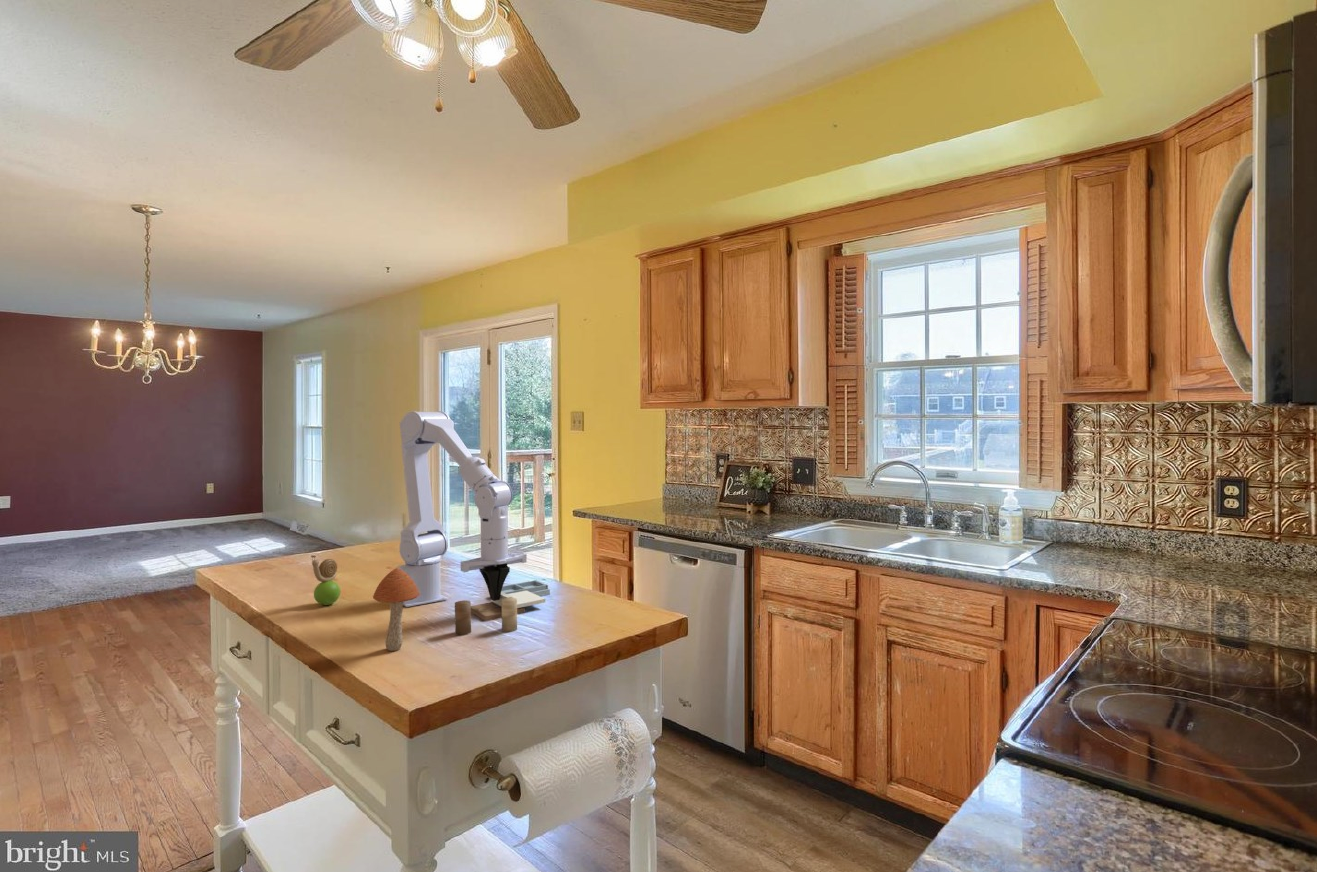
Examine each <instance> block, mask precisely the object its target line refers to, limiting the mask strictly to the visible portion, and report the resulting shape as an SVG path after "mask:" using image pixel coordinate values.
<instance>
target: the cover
mask: <svg viewBox="0 0 1317 872" xmlns="http://www.w3.org/2000/svg"><path fill="white" fill-rule="evenodd" d="M505 598H516V599H517V608H521V607H523V608H526V607H530V606H534V605H539V604H540V605H541V604H544V603H546V598H544V597H543V596H538V595H536V594H533V593H531V592H529V591H527V590H526V591H521V592H516V593H510V594H506V593H504V592H502V591H501V594H500V599H499V600H496V601H493V600H491V599H490V598H489V600H490V602H494V603H496V604H497V605H499V606H501V607H502V599H505Z"/></svg>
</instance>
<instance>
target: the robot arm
mask: <svg viewBox="0 0 1317 872" xmlns="http://www.w3.org/2000/svg"><path fill="white" fill-rule="evenodd" d="M399 429H400V438H401V455H402V457H401V458H402V464H403V466H402V467H403V473H404V482H405V491H406V492H405V493H406V500H407V509H408V520H409V522H408V523H407V525H406V526H405V527H404V528H403V529H402V530H401V531H400V543H399V554H400V556H401V557H400V558H401V559H402V560H403V561H404V564H402V565H401V564H400V565H399V566H398V567H397V568H398V569H400V570H402V571H404V572H405V573H407V574H408V575H409V576H410V577H411V579H412V580H413V581H414V583H415V584H416V586H417V589H418V591H419V596H418V597H417V598H415V599H413V600H409V601H404V602H403V607H405V608H409V607H414V606H420V605H425V604H432V603H435V602H442V601H446V600H448V597H447V596H445V595H443V594H442V587H441V586H442V582H441V581H442V580H441V579H442V577H441V571H442V570H441V568H442V567H441V566H442V565H441V564H442V563H441V561H442V560H444V555H445V554H446V553H447V551H448V548H449V542H448V538H447V536H446V534H445V531H444V525H443V524H442V523H440V521H438V520H436V518H435V513H434V505H433V496H432V495H433V494H432V486H431V478H430V470H429V469H430V468H429V460H428V453H429V451H430V450H431V448H432V447H434V446H435V445H437V444H439V445H440V446H441V447H442V449H444V450H445V451H446V453H447V454H448V455H449V456H450V457H451V458H452V459H453V460H454V461H455V463H456V464H458V466H459V468H458V474H459V475H460V477H461V478H462V479H463V481H464V482H465V483H466V485H467V486H468V487H469V488H470V489H471V490H470V491H472V492H473V494H475V496H473V501H474V504H475V506H476V507H477V510H478V513H477V514H478V516H479V518H480V556H479V557H475V558H472V559H469V560H468V559H467V560H462V561H460V571H461V572H463V573H469V571H476V570H479V573H481V576H482V578H483V580H484V581H485V585H486V587H487V590H488V594H489V600H490V599H491V600H493V601H496V600H499V599H500V594H501V590H502V587H503V586H504V584H505V581H506V579H507V577H508V575H509V574H510V569H511V568H510V566H508V565H514V564H520V563H522V564H525V563H528V559H527V558H528V557H527V553H524V552H518V553H517V552H516V553H509V547H508V546H509V544H508V541H509V540H508V537H509V536H508V531H509V530H508V522H509V521H508V519H509V518H508V506H510V504H512V502H513V499H514V498H513V497H514V493H513V489H512V487H511V485H510V483H508V482H507V481H505V480H500V478H498V477H497V476H496V475H495V474H494V473H493V472H492V470H491V469H490V468H489V466H487V464H486V463H487V462H486V460H485V459H484V458H481V457H480V456H473V455H472V454H471V452H470V451H469V449H468V447H467V446H466V445H465V444H464V442H463V440H462V439H461V438H460V435H459V434H458V433H457V431H456V430H455V422H454V421H453V420H452V419H451V418H450V416H449V414H447V412H445V411H441V410H440V411H416V410H410V411H408V412H407V413H405V415H404V416H403V417H402V418H401V420H400V422H399Z"/></svg>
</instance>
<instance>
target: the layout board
mask: <svg viewBox="0 0 1317 872" xmlns="http://www.w3.org/2000/svg"><path fill="white" fill-rule="evenodd" d="M525 613H526V607H521V608H517V615H520V614H525ZM471 614H473V615H475V616H477V617H479V618H480V619H482V620H483V621H484V622H488V621H491V620H492V621H493V620H495V619H496V620H497V619H502V607H501V606H499V605H497V604H496V603H494V602H492V601H490V602H483V603H479V604H475V605H471Z"/></svg>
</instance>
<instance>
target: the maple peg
mask: <svg viewBox="0 0 1317 872" xmlns="http://www.w3.org/2000/svg"><path fill="white" fill-rule="evenodd" d="M517 630H518V614H517V599H516V598H505V599H502V618H501V631H502V632H505V633H511V632H515V631H517Z"/></svg>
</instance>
